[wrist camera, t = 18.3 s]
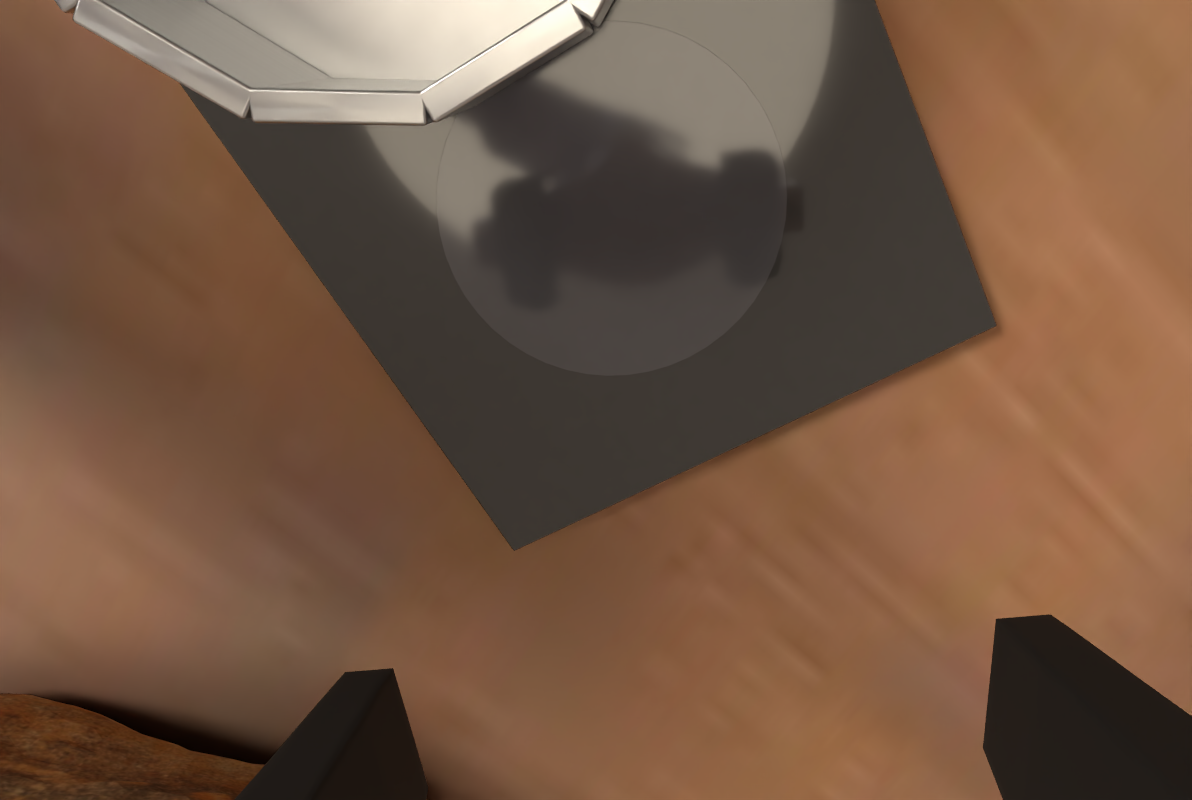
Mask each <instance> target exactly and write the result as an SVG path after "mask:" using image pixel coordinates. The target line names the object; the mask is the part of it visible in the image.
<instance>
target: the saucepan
mask: <svg viewBox="0 0 1192 800" xmlns="http://www.w3.org/2000/svg"><path fill="white" fill-rule="evenodd" d="M54 1H55V2H56V3H57V5H58V6H59V7H60V9H61V10H62V11H63V12H65V13H74V14H73V21H74V22H76V23H77V24H79V25H80V26H82V27H84V28H86V29H87V30H89V31H91V32H93V33H94V34H96V35H98V36H99V37H101V38H103V39H105V40H106V41H108V42H110V43H112V44H113V45H115V46H117V47H119V48H120V49H122V50H124V51H125V52H127V53H129V54H131V55H132V56H134V57H136V58H138V59H139V60H141V61H143V62H145V63H146V64H148V65H150V66H151V67H153V68H155V69H157V70H158V71H160V72H162V73H164V74H165V75H167V76H169V77H171V78H172V79H174V80H176V81H178V82H179V83H181V84H183V85H184V86H186V87H188V88H190V89H191V90H193V91H195V92H197V93H198V94H200V95H202V96H204V97H205V98H207V99H209V100H210V101H212V102H214V103H216V104H217V105H219V106H221V107H223V108H224V109H226V110H228V111H230V112H231V113H233V114H235V115H236V116H238V117H240V118H242V119H247V118H252V120H253V122H255V123H292V124H347V125H402V126H425V125H427V124H429V123H432V122H439V121H441V120H444V119H446V118H448V117H450V116H453V115H455V114H457V113H460V112H462V111H464V110H466V109H469V108H471V107H473V106H476V105H477V104H479V103H481V102H482V101H484V100H486V99H487V98H489V97H490V96H492V95H494V94H495V93H497V92H499V91H500V90H502V89H503V88H505V87H507V86H508V85H510V84H512V83H513V82H515V81H516V80H518V79H520V78H521V77H523V76H525V75H526V74H528V73H530V72H531V71H533V70H534V69H536V68H538V67H539V66H541V65H543V64H544V63H546V62H547V61H549V60H551V59H552V58H554V57H556V56H557V55H559V54H560V53H562V52H564V51H565V50H567V49H569V48H570V47H572V46H573V45H575V44H577V43H578V42H580V41H582V40H583V39H585V38H586V37H588V36H590V35H591V34H592V33H593V29H592V27H591V25H590V23H592V24H593V25H595V26H597V27H598V26H600V24H601V23H602V21H603V19H604V17H605V15H606V13H607V12H608V10H609V8H610V6H611V4H612V2H613V1H614V0H54ZM589 22H590V23H589Z"/></svg>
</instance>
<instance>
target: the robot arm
mask: <svg viewBox="0 0 1192 800" xmlns="http://www.w3.org/2000/svg"><path fill="white" fill-rule="evenodd" d="M983 749H984V752H985V754H986V757H987V759H988V762H989V765H990V767H991V770H992V772H993V775H994V777H995V780H996V783H997V785H998V788H999V790H1000V793H1001V796H1002V798H1003V800H1192V716H1191V715H1189V714H1188V713H1186V712H1185V711H1184V710H1182V709H1181V708H1179V707H1178V706H1177V705H1175V704H1174V703H1172V702H1171V701H1170V700H1168V699H1167V698H1165V697H1164V696H1163V695H1161V694H1160V693H1159V692H1157V691H1156V690H1154V689H1153V688H1152V687H1150V686H1149V685H1148V684H1146V683H1145V682H1143V681H1142V680H1141V679H1139V678H1138V677H1136V676H1135V675H1134V674H1132V673H1131V672H1130V671H1128V670H1127V669H1126V668H1124V667H1123V666H1121V665H1120V664H1119V663H1117V662H1116V661H1115V660H1113V659H1112V658H1110V657H1109V656H1108V655H1106V654H1105V653H1104V652H1102V651H1101V650H1099V649H1098V648H1097V647H1095V646H1094V645H1093V644H1091V643H1090V642H1089V641H1087V640H1086V639H1084V638H1083V637H1082V636H1080V635H1079V634H1077V633H1076V632H1075V631H1073V630H1072V629H1070V628H1069V627H1068V626H1066V625H1065V624H1063V623H1062V622H1060V621H1059V620H1058V619H1056V618H1055V617H1053V616H1052V615H1039V616H1027V617H1014V618H1002V619H996V625H995V635H994V644H993V654H992V664H991V674H990V684H989V694H988V704H987V714H986V723H985V733H984V743H983ZM427 792H428V785H427V781H426V778H425V775H424V771H423V768H422V764H421V761H420V758H419V754H418V751H417V748H416V744H415V741H414V737H413V734H412V731H411V727H410V724H409V721H408V717H407V714H406V710H405V707H404V704H403V700H402V697H401V694H400V690H399V687H398V683H397V680H396V677H395V673H394V670H393V668H392V669H380V670H368V671H355V672H345V673H344V674H343V675H342V677H341V678H340V679H339V680H338V681H337V682H336V683H335V684H334V686H333V687H332V688H331V689H330V690H329V691H328V692H327V694H326V695H325V696H324V697H323V698H322V699H321V700H320V702H319V703H318V704H317V705H316V706H315V707H314V709H313V710H312V711H311V712H310V713H309V714H308V715H307V717H306V718H305V719H304V720H303V721H302V722H301V724H300V725H299V726H298V727H297V728H296V729H295V731H294V732H293V733H292V734H291V735H290V736H289V738H288V739H287V740H286V741H285V742H284V743H283V745H282V746H281V747H280V748H279V749H278V750H277V752H276V753H275V754H274V755H273V756H272V757H271V758H270V760H269V761H268V762H267V763H266V764H265V765H264V767H263V768H262V769H261V770H260V771H259V772H258V773H257V775H256V776H255V777H254V778H253V779H252V780H251V781H250V782H249V784H248V785H247V786H246V787H245V788H244V789H243V790H242V791H241V793H240V794H239V795H238V796H237V797H236V798H235V799H234V800H426V799H427Z"/></svg>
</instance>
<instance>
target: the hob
mask: <svg viewBox="0 0 1192 800" xmlns="http://www.w3.org/2000/svg"><path fill="white" fill-rule="evenodd" d="M589 23H590V22H589ZM590 25H591V27H592V29H593V33H592V34H591V35H590V36H588V37H586V38H585V39H583V40H582V41H580V42H578V43H577V44H575V45H573V46H572V47H570V48H569V49H567V50H565V51H564V52H562V53H560V54H559V55H557V56H556V57H554V58H552V59H551V60H549V61H547V62H546V63H544V64H543V65H541V66H539V67H538V68H536V69H534V70H533V71H531V72H530V73H528V74H526V75H525V76H523V77H521V78H520V79H518V80H516V81H515V82H513V83H512V84H510V85H508V86H507V87H505V88H503V89H502V90H500V91H499V92H497V93H495V94H494V95H492V96H490V97H489V98H487V99H486V100H484V101H482V102H481V103H479V104H477V105H476V106H473V107H471V108H469V109H466V110H464V111H462V112H460V113H457V114H455V115H453V116H450V117H448V118H446V119H444V120H441V121H439V122H432V123H429V124H427V125H425V126H402V125H347V124H292V123H255V122H253V120H252V118H247V119H242V118H240V117H238V116H236V115H235V114H233V113H231V112H230V111H228V110H226V109H224V108H223V107H221V106H219V105H217V104H216V103H214V102H212V101H210V100H209V99H207V98H205V97H204V96H202V95H200V94H198V93H197V92H195V91H193V90H191V89H190V88H188V87H186V86H184V85H183V84H181V83H180V84H181V86H182V87H183V89H184V90H185V91H186V93H187V94H188V96H189V97H190V98H191V100H192V101H193V103H194V104H195V105H196V107H197V108H198V110H199V111H200V112H201V114H202V115H203V117H204V118H205V119H206V121H207V122H208V124H209V125H210V126H211V128H212V129H213V131H214V132H215V133H216V135H217V136H218V138H219V139H220V140H221V142H222V143H223V145H224V146H225V147H226V149H227V150H228V152H229V153H230V154H231V156H232V157H233V159H234V160H235V161H236V163H237V164H238V166H239V167H240V168H241V170H242V171H243V173H244V174H245V175H246V177H247V178H248V180H249V181H250V182H251V184H252V185H253V187H254V188H255V189H256V191H257V192H258V194H259V195H260V196H261V198H262V199H263V201H264V202H265V203H266V205H267V206H268V208H269V209H270V210H271V212H272V213H273V215H274V216H275V217H276V219H277V220H278V222H279V223H280V224H281V226H282V227H283V229H284V230H285V231H286V233H287V234H288V236H289V237H290V238H291V240H292V241H293V243H294V244H295V245H296V247H297V248H298V250H299V251H300V252H301V254H302V255H303V257H304V258H305V259H306V261H307V262H308V264H309V265H310V266H311V268H312V269H313V271H314V272H315V273H316V275H317V276H318V278H319V279H320V280H321V282H322V283H323V285H324V286H325V287H326V289H327V290H328V292H329V293H330V294H331V296H332V297H333V299H334V300H335V301H336V303H337V304H338V306H339V307H340V308H341V310H342V311H343V312H344V314H345V315H346V317H347V318H348V319H349V321H350V322H351V324H352V325H353V326H354V328H355V329H356V331H357V332H358V333H359V335H360V336H361V338H362V339H363V340H364V342H365V343H366V345H367V346H368V347H369V349H370V350H371V352H372V353H373V354H374V356H375V357H376V359H377V360H378V361H379V363H380V364H381V366H382V367H383V368H384V370H385V371H386V373H387V374H388V375H389V377H390V378H391V380H392V381H393V382H394V384H395V385H396V387H397V388H398V389H399V391H400V392H401V394H402V395H403V396H404V398H405V399H406V401H407V402H408V403H409V405H410V406H411V408H412V409H413V410H414V412H415V413H416V415H417V416H418V417H419V419H420V420H421V422H422V423H423V424H424V426H425V427H426V429H427V430H428V431H429V433H430V434H431V436H432V437H433V438H434V440H435V441H436V443H437V444H438V445H439V447H440V448H441V450H442V451H443V452H444V454H445V455H446V457H447V458H448V459H449V461H450V462H451V464H452V465H453V466H454V468H455V469H456V471H457V472H458V473H459V475H460V476H461V478H462V479H463V480H464V482H465V483H466V485H467V486H468V487H469V489H470V490H471V492H472V493H473V494H474V496H475V497H476V499H477V500H478V501H479V503H480V504H481V506H482V507H483V508H484V510H485V511H486V513H487V514H488V515H489V517H490V518H491V520H492V521H493V522H494V524H495V525H496V527H497V528H498V529H499V531H500V532H501V534H502V535H503V536H504V538H505V539H506V541H507V542H508V543H509V545H510V546H511V548H512V549H513V550H514V551H515V550H517V549H519V548H521V547H523V546H525V545H528V544H530V543H532V542H534V541H536V540H538V539H541V538H543V537H545V536H547V535H549V534H551V533H553V532H556V531H558V530H560V529H562V528H564V527H566V526H568V525H571V524H573V523H575V522H577V521H579V520H581V519H583V518H586V517H588V516H590V515H592V514H594V513H596V512H598V511H601V510H603V509H605V508H607V507H609V506H611V505H613V504H616V503H618V502H620V501H622V500H624V499H626V498H628V497H631V496H633V495H635V494H637V493H639V492H641V491H643V490H646V489H648V488H650V487H652V486H654V485H656V484H659V483H661V482H663V481H665V480H667V479H669V478H671V477H674V476H676V475H678V474H680V473H682V472H684V471H686V470H689V469H691V468H693V467H695V466H697V465H699V464H701V463H704V462H706V461H708V460H710V459H712V458H714V457H716V456H719V455H721V454H723V453H725V452H727V451H729V450H731V449H734V448H736V447H738V446H740V445H742V444H744V443H746V442H749V441H751V440H753V439H755V438H757V437H759V436H762V435H764V434H766V433H768V432H770V431H772V430H774V429H777V428H779V427H781V426H783V425H785V424H787V423H789V422H792V421H794V420H796V419H798V418H800V417H802V416H804V415H807V414H809V413H811V412H813V411H815V410H817V409H819V408H822V407H824V406H826V405H828V404H830V403H832V402H834V401H837V400H839V399H841V398H843V397H845V396H847V395H849V394H852V393H854V392H856V391H858V390H860V389H862V388H865V387H867V386H869V385H871V384H873V383H875V382H877V381H880V380H882V379H884V378H886V377H888V376H890V375H892V374H895V373H897V372H899V371H901V370H903V369H905V368H907V367H910V366H912V365H914V364H916V363H918V362H920V361H922V360H925V359H927V358H929V357H931V356H933V355H935V354H937V353H940V352H942V351H944V350H946V349H948V348H950V347H952V346H955V345H957V344H959V343H961V342H963V341H965V340H968V339H970V338H972V337H974V336H976V335H978V334H980V333H983V332H985V331H987V330H989V329H991V328H993V327H995V326H996V322H995V319H994V317H993V314H992V311H991V309H990V306H989V303H988V301H987V298H986V295H985V293H984V290H983V287H982V285H981V282H980V279H979V277H978V274H977V271H976V269H975V266H974V263H973V261H972V258H971V255H970V253H969V250H968V247H967V245H966V242H965V239H964V237H963V234H962V231H961V229H960V226H959V223H958V221H957V218H956V215H955V213H954V210H953V207H952V205H951V202H950V199H949V197H948V194H947V191H946V189H945V186H944V183H943V181H942V178H941V175H940V173H939V170H938V167H937V165H936V162H935V159H934V157H933V154H932V151H931V149H930V146H929V143H928V141H927V138H926V135H925V133H924V130H923V127H922V125H921V122H920V119H919V117H918V114H917V111H916V109H915V106H914V103H913V101H912V98H911V95H910V93H909V90H908V87H907V85H906V82H905V79H904V77H903V74H902V71H901V69H900V66H899V63H898V61H897V58H896V55H895V53H894V50H893V47H892V45H891V42H890V39H889V37H888V34H887V31H886V29H885V26H884V23H883V21H882V18H881V15H880V13H879V10H878V7H877V5H876V2H875V0H614V1H613V2H612V4H611V6H610V8H609V10H608V12H607V13H606V15H605V17H604V19H603V21H602V23H601V24H600V26H598V27H597V26H595V25H593V24H592V23H590Z"/></svg>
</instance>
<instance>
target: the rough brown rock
mask: <svg viewBox="0 0 1192 800" xmlns="http://www.w3.org/2000/svg"><path fill="white" fill-rule="evenodd" d="M263 767H264V765H263V764H250V763H246V762H242V761H238V760H234V759H230V758H225V757H220V756H215V755H210V754H205V753H200V752H195V751H190V750H187V749H185V748H183V747H181V746H179V745H176V744H173V743H170V742H167V741H163V740H160V739H157V738H153V737H150V736H146V735H143V734H141V733H139V732H137V731H135V730H132V729H130V728H128V727H126V726H124V725H122V724H120V723H118V722H116V721H114V720H112V719H110V718H107V717H105V716H103V715H101V714H98V713H95V712H92V711H89V710H86V709H83V708H80V707H77V706H74V705H69V704H64V703H59V702H56V701H52V700H48V699H44V698H41V697H37V696H33V695H26V694H9V693H8V694H0V800H234V799H235V798H236V797H237V796H238V795H239V794H240V793H241V791H242V790H243V789H244V788H245V787H246V786H247V785H248V784H249V782H250V781H251V780H252V779H253V778H254V777H255V776H256V775H257V773H258V772H259V771H260V770H261V769H262V768H263ZM426 800H428V799H426Z"/></svg>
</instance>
